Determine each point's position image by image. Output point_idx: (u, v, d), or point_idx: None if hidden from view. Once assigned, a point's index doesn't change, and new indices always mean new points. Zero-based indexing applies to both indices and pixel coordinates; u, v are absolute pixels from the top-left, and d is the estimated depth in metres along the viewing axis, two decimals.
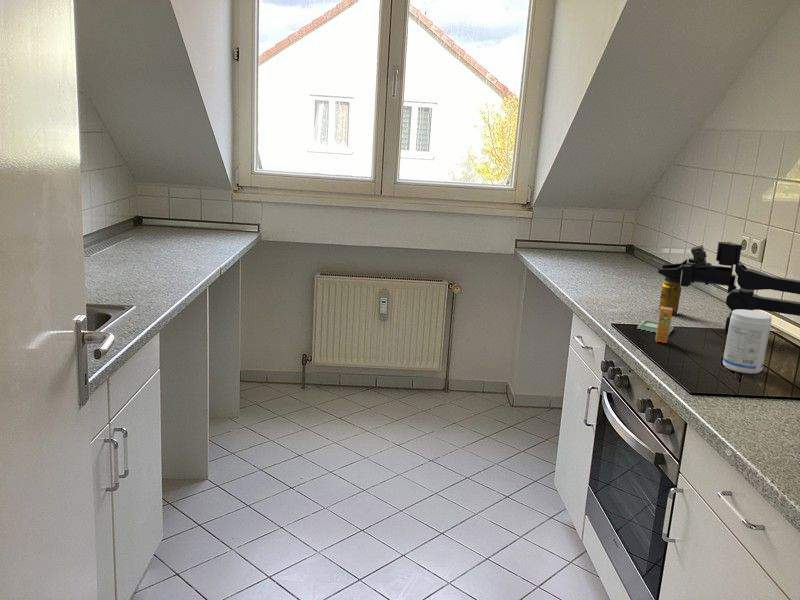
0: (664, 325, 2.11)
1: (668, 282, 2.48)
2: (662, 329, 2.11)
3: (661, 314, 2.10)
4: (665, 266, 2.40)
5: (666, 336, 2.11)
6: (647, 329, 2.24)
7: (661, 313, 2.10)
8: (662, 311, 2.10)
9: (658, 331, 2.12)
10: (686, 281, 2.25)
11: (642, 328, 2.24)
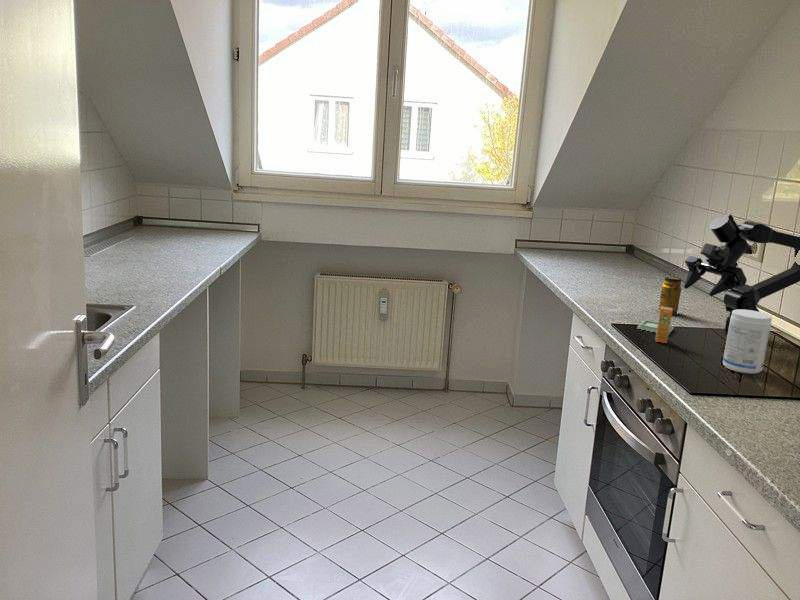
0: (664, 325, 2.11)
1: (668, 282, 2.48)
2: (662, 329, 2.11)
3: (661, 314, 2.10)
4: (687, 285, 2.23)
5: (666, 336, 2.11)
6: (647, 329, 2.24)
7: (661, 313, 2.10)
8: (662, 311, 2.10)
9: (658, 331, 2.12)
10: (744, 280, 2.14)
11: (642, 328, 2.24)
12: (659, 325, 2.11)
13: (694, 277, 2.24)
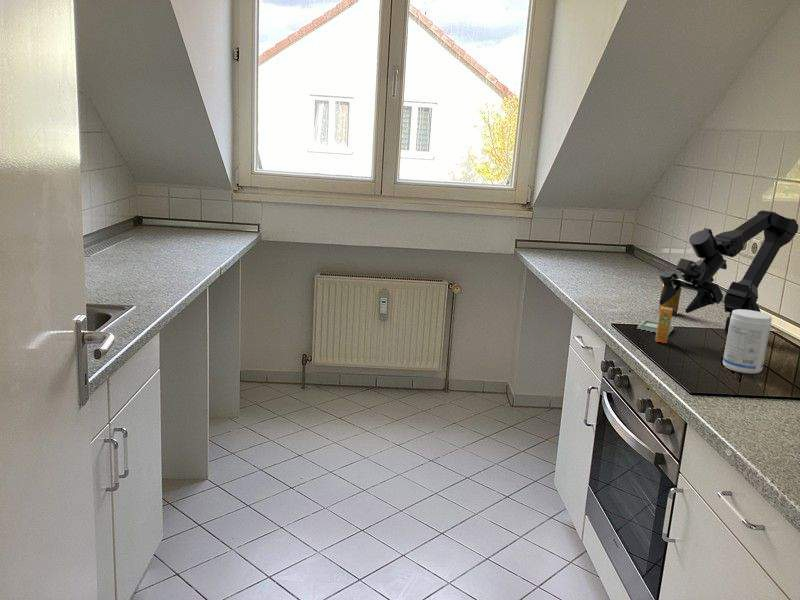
0: (664, 325, 2.11)
1: None
2: (662, 329, 2.11)
3: (661, 314, 2.10)
4: (662, 301, 2.16)
5: (666, 336, 2.11)
6: (647, 329, 2.24)
7: (661, 313, 2.10)
8: (662, 311, 2.10)
9: (658, 331, 2.12)
10: (721, 296, 2.07)
11: (642, 328, 2.24)
12: (659, 325, 2.11)
13: (669, 293, 2.18)
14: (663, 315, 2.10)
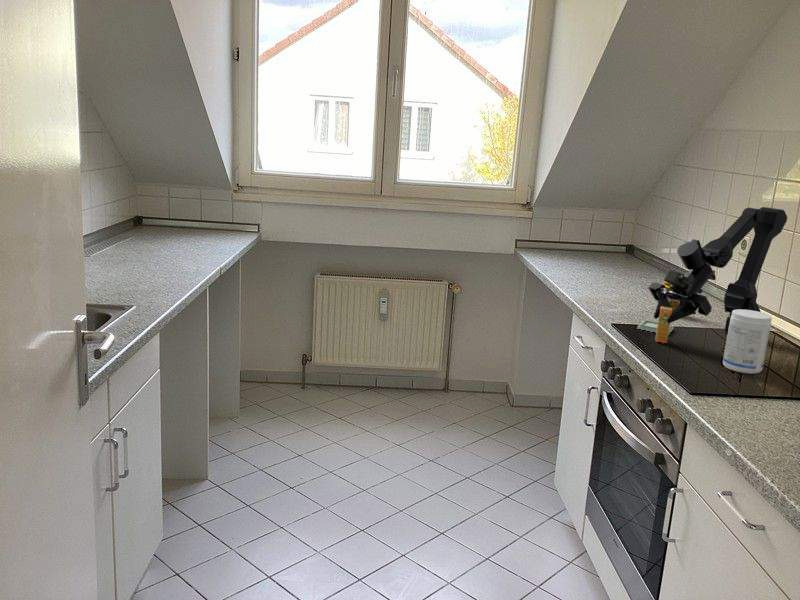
0: (664, 324, 2.11)
1: None
2: (662, 329, 2.11)
3: (661, 314, 2.10)
4: (657, 315, 2.13)
5: (666, 336, 2.11)
6: (647, 329, 2.24)
7: (661, 313, 2.10)
8: (661, 311, 2.10)
9: (658, 331, 2.12)
10: (709, 308, 2.06)
11: (642, 328, 2.24)
12: (659, 325, 2.11)
13: (664, 306, 2.14)
14: (663, 315, 2.10)
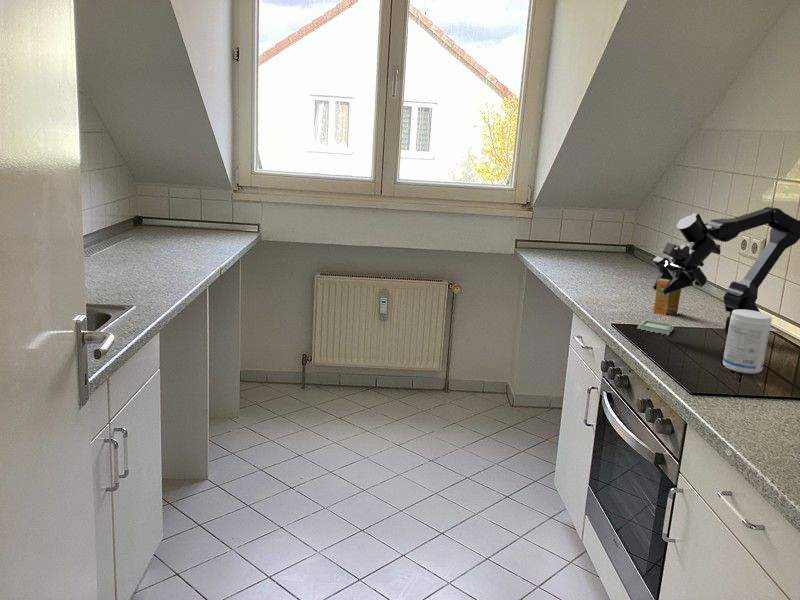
0: (661, 296, 2.17)
1: None
2: (659, 300, 2.17)
3: (658, 285, 2.17)
4: (656, 286, 2.19)
5: (663, 307, 2.17)
6: (647, 329, 2.24)
7: (658, 284, 2.17)
8: (658, 283, 2.17)
9: (656, 302, 2.18)
10: (704, 279, 2.10)
11: (642, 328, 2.24)
12: (656, 296, 2.18)
13: (665, 278, 2.20)
14: (660, 286, 2.17)
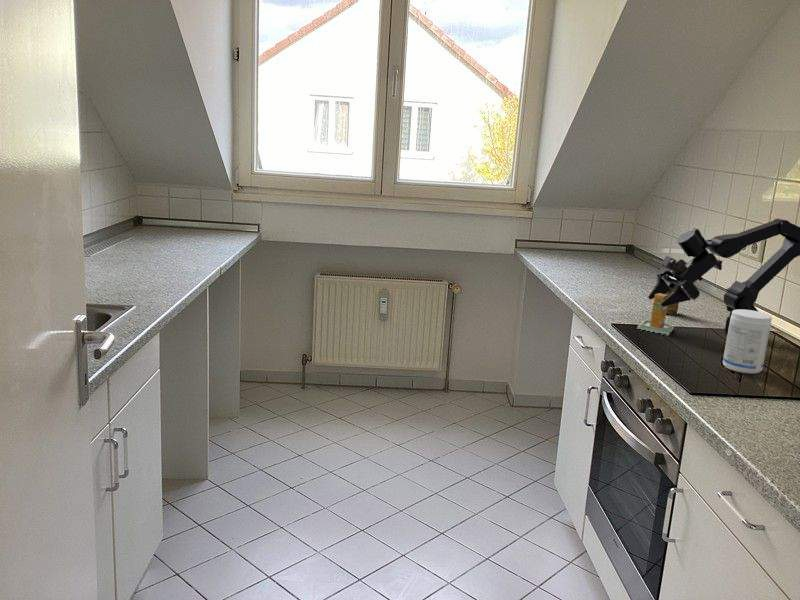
0: (657, 310, 2.24)
1: None
2: (655, 313, 2.25)
3: (654, 299, 2.25)
4: (651, 296, 2.29)
5: (658, 321, 2.24)
6: (647, 329, 2.24)
7: (655, 298, 2.25)
8: (655, 297, 2.24)
9: (652, 315, 2.26)
10: (695, 293, 2.16)
11: (642, 328, 2.24)
12: (653, 310, 2.25)
13: (661, 289, 2.29)
14: (656, 300, 2.24)
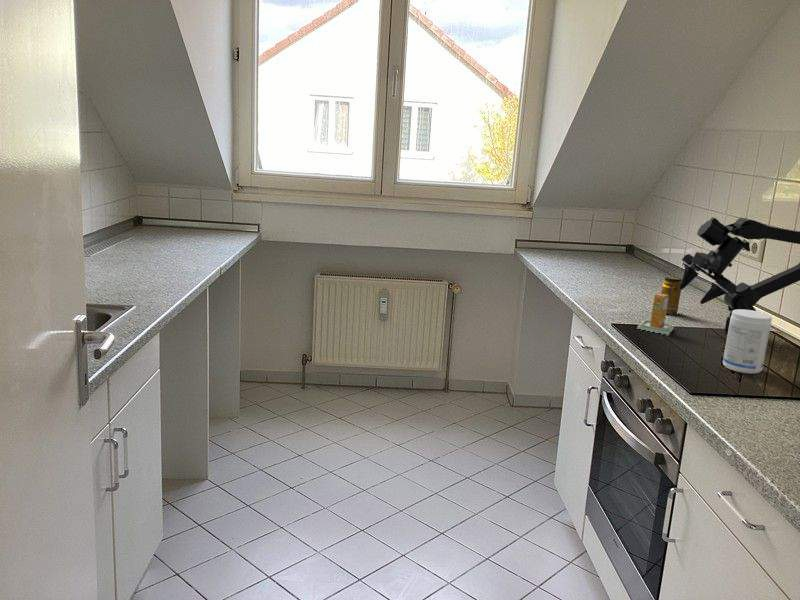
0: (657, 310, 2.24)
1: (668, 282, 2.48)
2: (655, 313, 2.25)
3: (654, 299, 2.25)
4: (682, 286, 2.32)
5: (658, 321, 2.24)
6: (647, 329, 2.24)
7: (654, 298, 2.25)
8: (655, 297, 2.24)
9: (652, 315, 2.26)
10: (734, 289, 2.20)
11: (642, 328, 2.24)
12: (653, 310, 2.25)
13: (690, 277, 2.31)
14: (656, 300, 2.24)
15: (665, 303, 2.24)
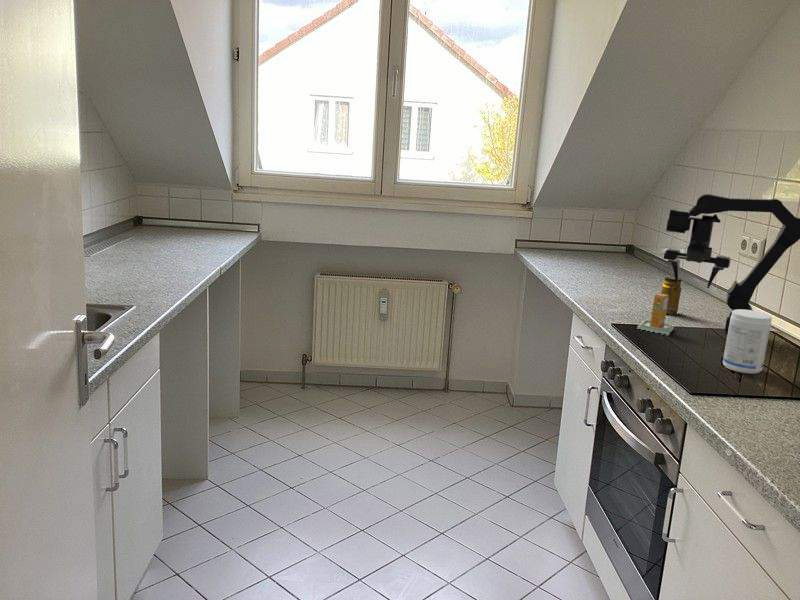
0: (657, 310, 2.24)
1: (668, 282, 2.48)
2: (655, 313, 2.25)
3: (654, 299, 2.25)
4: (677, 280, 2.34)
5: (658, 321, 2.24)
6: (647, 329, 2.24)
7: (654, 298, 2.25)
8: (655, 297, 2.24)
9: (652, 315, 2.26)
10: (730, 261, 2.27)
11: (642, 328, 2.24)
12: (653, 310, 2.25)
13: (678, 268, 2.33)
14: (656, 300, 2.24)
15: (665, 303, 2.24)
